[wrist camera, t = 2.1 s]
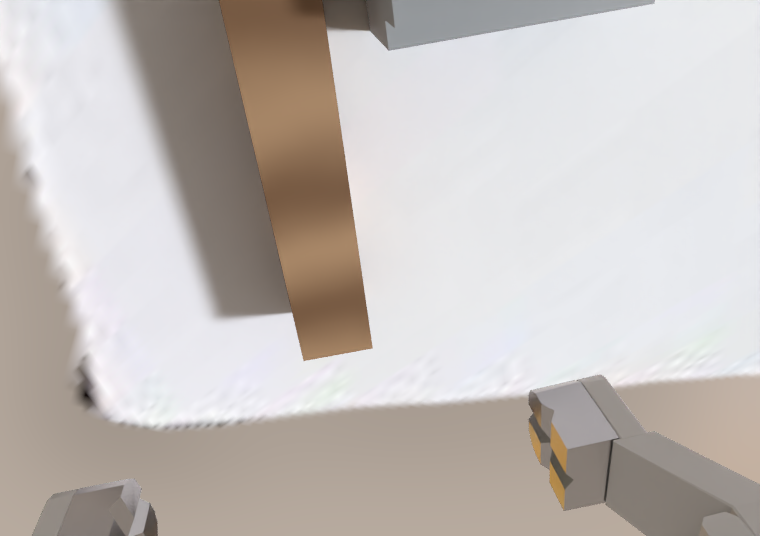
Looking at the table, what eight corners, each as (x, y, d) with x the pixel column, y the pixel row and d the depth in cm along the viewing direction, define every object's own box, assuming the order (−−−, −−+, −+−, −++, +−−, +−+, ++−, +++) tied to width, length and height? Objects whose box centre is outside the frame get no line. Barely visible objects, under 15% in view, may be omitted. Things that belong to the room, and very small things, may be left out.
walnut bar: (219, -56, 22) (205, -56, 18) (306, -67, 22) (312, -69, 18) (300, 309, 31) (303, 360, 27) (361, 298, 31) (372, 348, 27)
